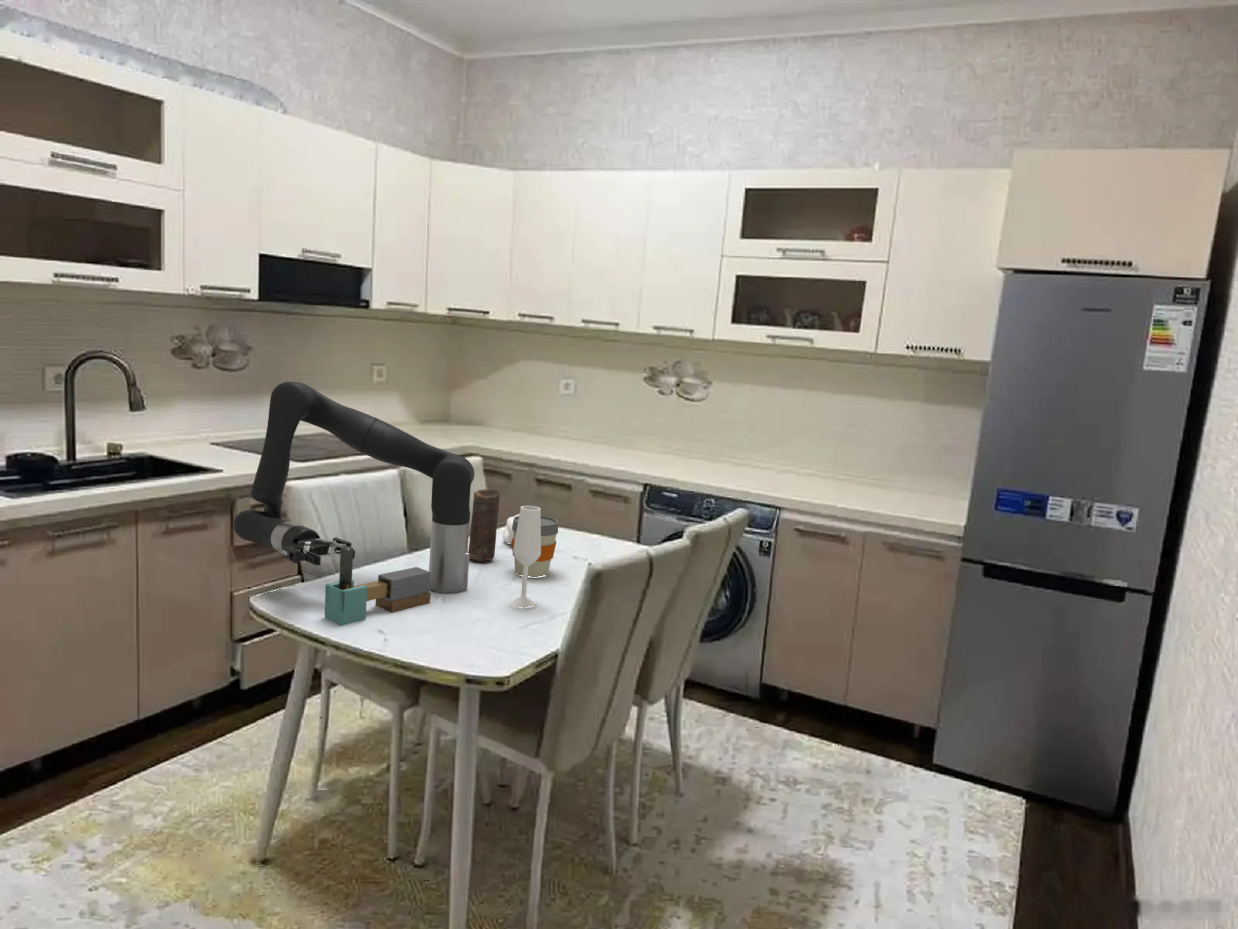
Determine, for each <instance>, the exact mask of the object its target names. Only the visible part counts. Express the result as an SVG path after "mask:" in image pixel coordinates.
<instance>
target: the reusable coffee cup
mask: <svg viewBox="0 0 1238 929" xmlns="http://www.w3.org/2000/svg"><path fill="white" fill-rule="evenodd" d="M513 517H514V516H513ZM518 520H519V516H516V517H514V520H513V525H512V530H513V538H512V544H511V546H512V547H511V548H512V552H513V549H514V543H515V538H516V532H517V526H518ZM558 533H559V521H558V520H557V519H556V518H553V517H550V516H545V515H541V555H540V557H539V558H538V559H537V560H536V561H535V562H534V563H533V564H531V565H529V566H528V576H531V577H538V576H543V575H547V574H548V575H549V572H550V568H551V567H550V566H551V562H552V560H553V559H554V555H555V550H556V546H557V539H556V538H557V535H558ZM512 556H513V558H514V573H515V572H516V573H517V574H518V575H523V567H524V566H523V565H522V564H521V563H520V562H519V561H518V560H517V559H516V558H515V556H514V554H513V553H512ZM518 575H517V576H518ZM548 575H547V576H548Z"/></svg>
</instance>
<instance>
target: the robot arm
mask: <svg viewBox="0 0 1238 929" xmlns="http://www.w3.org/2000/svg"><path fill="white" fill-rule="evenodd" d="M268 407H269V408H268V418H267V426H266V432H265V438H264V443H263V447H262V452H261V456H260V459H259V462H258V467H257V469H256V473H255V477H254V480H253V483H252V487H251V490H250V496H251V498H252V499H253V500H254V501H256V502H257V503H258V502H259V503H262V504H263V506H264V507H263V508H264V510H255V509H254V510H253V509H247V510H246V509H245V510H242V511H240V512H238V514H237V515H236V516H235V518H234V520H233V523H232V524H233V530H234V533H235V534H236V535H237V536H238V537H239V538H240V539H242V540H244V541H248V542H252V543H257V544H261V545H264V546H267V547H269V548H271V549H274V550H275V551H276V550H277V551H278V552H279V553H280V554H282V558H283V559H286V560H288V561H290V562H292V563H294V564H299V563H300V562H302V563H309V564H311V565H314V566H320V565H321V560H322V557H331V558H334V557H336V556H340V552H341V547H352V546H353V545H352V544H353V543H352V542H350V541H347V540H344V539H342V538H339V537H333V538H332V540H327V539H324V538H321V536H320V535H319V534H318V532H317V531H315V530H314V529H311V528H309V527H306V526H303V525H302V524H299V523H295V522H291V521H288V520H285V519H282V498H283V494H284V490H285V487H286V483H287V479H288V476H289V470H290V464H291V463H290V462H291V452H292V451H291V450H292V444H293V440H294V436H295V433H296V431H297V428H298V427H299V424H300V422H304V423H307V424H310V425H313V426H315V427H318V428H320V429H322V430H325V431H326V432H328V433H330V434H332V435H333V436H335V437H336V438H338V439H339V440H340V441H341V442H343V443H344V444H345V445H348V446H349V447H350V448H352V449H354V450H355V451H357V452H360V453H361V454H364V455H366V456H368V457H370V458H373V459H374V460H376V461H379V462H383V463H385V464H389V465H393V466H398V467H403V468H407V469H411V470H413V471H417V472H419V473H421V474H423V475H425V476H427V477H428V478H430V479H432V480H431V481H432V483H431V506H430V507H431V528H430V529H431V531H430V532H431V533H430V545H429V546H430V548H429V549H430V550H429V562H428V571H429V572H430V588H429V590H431V591H433V592H437V593H442V594H445V593H447V594H451V593H459V592H463V591H468V582H469V581H468V580H469V567H470V566H469V565H470V558H469V552H468V550H469V539H470V524H471V523H470V521H471V509H470V508H471V507H470V506H471V505H470V502H471V501H470V500H471V486H472V483H473V481H474V479H475V469H474V466H473V464H472V463H471V462H470V461H469V459H467V458H466V457H464V456H462V455H458V454H456V453H454V452H453V453H452V452H450V451H447V450H444V449H441V448H438V447H435V446H433V445H432V444H428V443H426V442H425V441H423V440H421V439H419V438H417V437H415V436H413V435H412V434H409V433H408V432H405V431H404V430H402V429H400V428H398V427H396V426H394V425H392V424H390V423H388V422H386V421H384V420H383V419H382V420H381V419H379V418H378V417H375V416H372V415H369V414H367V413H365V412H362V411H359V410H357V409H354V408H351V407H349V406H346V405H343V404H341V403H339V402H337V401H334V399H333V400H332V399H331V398H329V397H327V396H326V395H324V394H323V393H321V392H319V391H317V390H316V389H314V388H312V387H311V386H309V385H308V384H307V383H305V382H302V381H301V382H300V381H284V382H281V383H279V384H278V385H276V386H275V387H274V388H273V389H272V392H271V394H270V401H269V406H268ZM330 548H331V552H330V551H329V550H330ZM355 557H356V551H355V549H354V548H353V560H354V559H355Z"/></svg>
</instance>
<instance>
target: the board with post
mask: <svg viewBox="0 0 1238 929" xmlns="http://www.w3.org/2000/svg"><path fill="white" fill-rule="evenodd" d="M353 549H354V547H352V546H351V547H341V552H340V551H339V552H340V559H339V574H338V575H339V579H338V582H339V589H340V590H344V589H349V588H354V587H359V586H363V585H364V586H367V602H369V601H373V600H374V601H375V600H376V599H378V598H383V597H387V596H389V595H390V582H388V581H386V580H379V581H378V580H375V581H371V582H365V583H360V584H357V585H353V586H352V580H353V566H354V565H353V561H354V559H353Z"/></svg>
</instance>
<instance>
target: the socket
mask: <svg viewBox="0 0 1238 929" xmlns="http://www.w3.org/2000/svg"><path fill="white" fill-rule="evenodd" d="M354 582H355V581H354V580H353V579H352V586H355V584H354ZM324 597H325V598H324V599H325V600H324V601H325V602H324V618H325V619H327V620H329V621H330V622H333V623H335V624H338V625H339V626H344V625H348V624H353V623H356V622H361V621H364V620H366V619H367V602H368V601H367V586H364V585H363V586H359V587H354V588H349V589H344V590H340V589H339V581H337V582H332V583H326V584H325V596H324Z"/></svg>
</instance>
